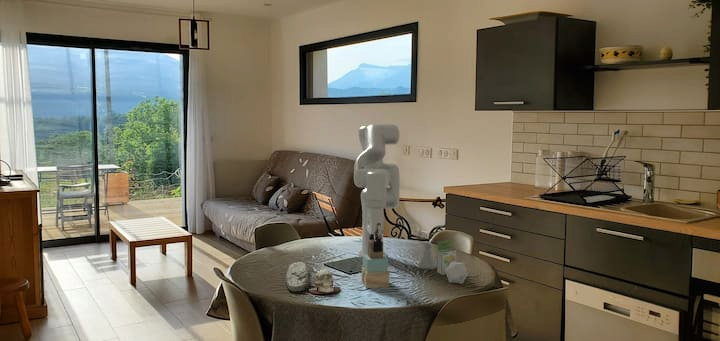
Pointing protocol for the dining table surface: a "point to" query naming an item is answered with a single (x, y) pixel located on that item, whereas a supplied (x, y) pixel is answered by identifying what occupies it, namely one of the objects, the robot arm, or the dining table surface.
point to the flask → (427, 258)
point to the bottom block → (375, 279)
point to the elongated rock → (298, 276)
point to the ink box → (445, 256)
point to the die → (456, 272)
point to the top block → (375, 264)
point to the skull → (324, 283)
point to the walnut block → (371, 252)
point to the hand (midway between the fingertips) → (375, 249)
